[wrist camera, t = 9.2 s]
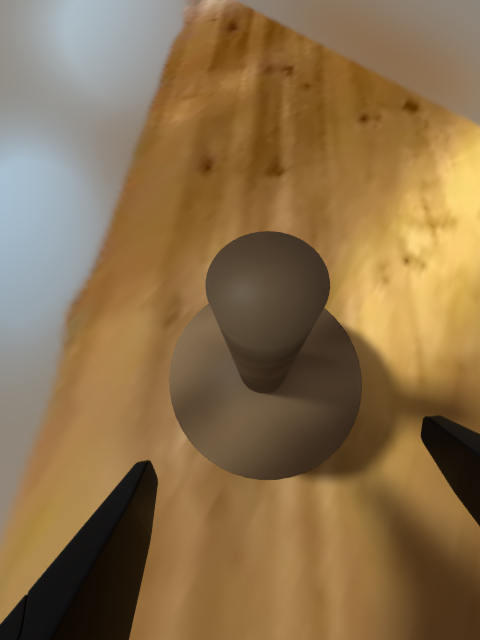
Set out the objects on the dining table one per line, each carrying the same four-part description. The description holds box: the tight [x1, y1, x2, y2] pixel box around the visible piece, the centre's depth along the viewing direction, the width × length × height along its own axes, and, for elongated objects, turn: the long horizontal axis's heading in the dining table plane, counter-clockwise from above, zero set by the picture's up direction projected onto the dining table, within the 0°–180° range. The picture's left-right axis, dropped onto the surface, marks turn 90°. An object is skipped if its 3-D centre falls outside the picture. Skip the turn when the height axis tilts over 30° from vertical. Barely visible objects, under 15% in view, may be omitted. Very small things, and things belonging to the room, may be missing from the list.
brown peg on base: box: [169, 231, 362, 480], centre depth 12 cm, size 12×12×12 cm
